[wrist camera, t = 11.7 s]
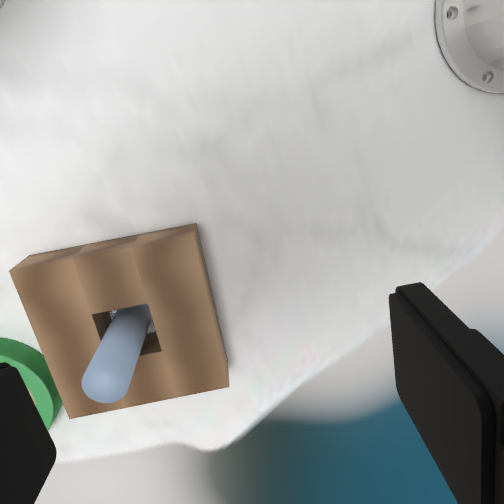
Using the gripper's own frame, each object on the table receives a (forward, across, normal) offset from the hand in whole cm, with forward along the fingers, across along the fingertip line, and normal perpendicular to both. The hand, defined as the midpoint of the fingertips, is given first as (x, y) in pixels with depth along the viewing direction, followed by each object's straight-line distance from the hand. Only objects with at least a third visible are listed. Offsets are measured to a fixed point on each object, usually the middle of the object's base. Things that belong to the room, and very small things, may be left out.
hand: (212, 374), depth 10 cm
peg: (+24, +11, +10) cm, 28 cm away
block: (+24, +10, +10) cm, 28 cm away
